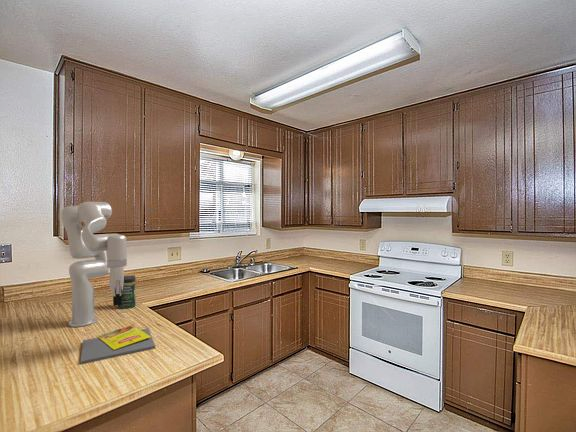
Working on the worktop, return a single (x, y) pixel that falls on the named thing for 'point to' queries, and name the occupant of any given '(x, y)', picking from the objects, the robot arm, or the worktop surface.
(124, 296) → the coffee jar
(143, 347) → the rubber mat
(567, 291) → the worktop surface
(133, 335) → the food package
